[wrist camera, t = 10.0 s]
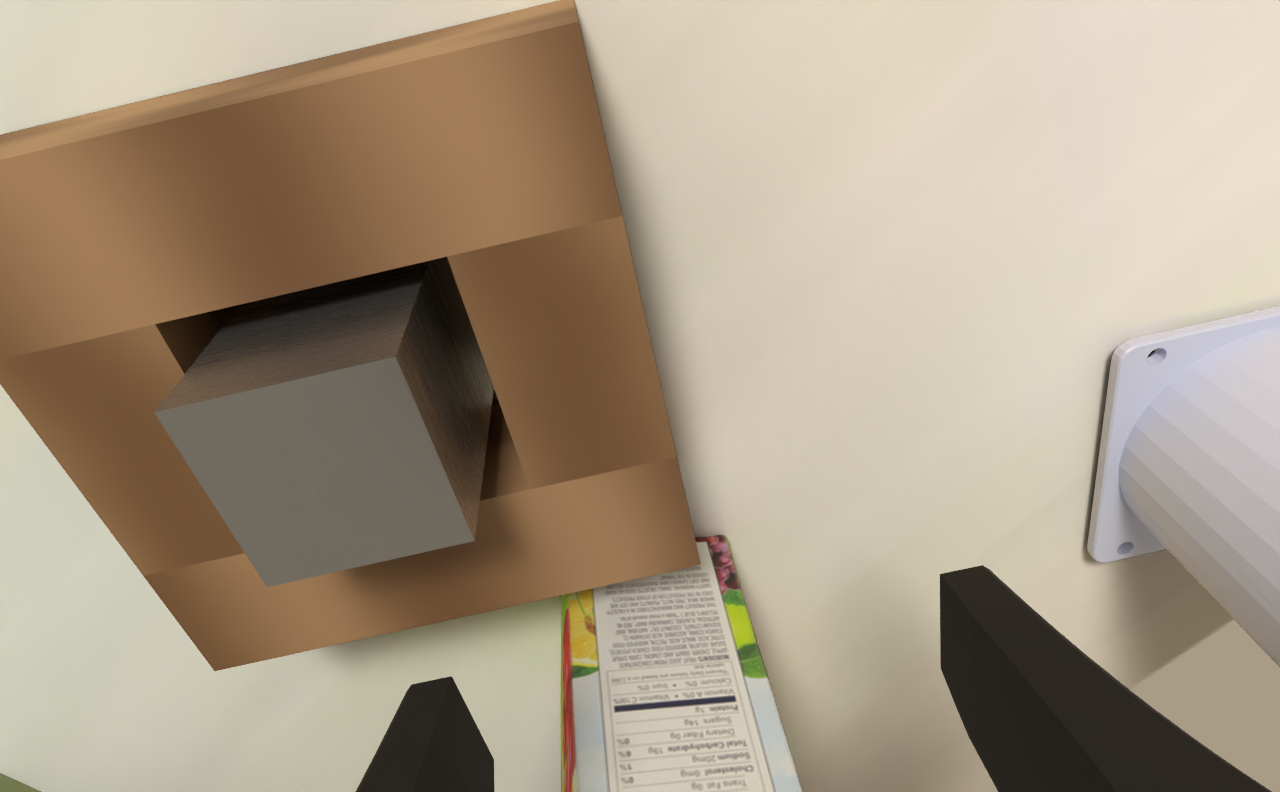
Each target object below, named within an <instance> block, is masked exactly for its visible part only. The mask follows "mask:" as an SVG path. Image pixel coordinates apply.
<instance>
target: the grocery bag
mask: <svg viewBox="0 0 1280 792" xmlns="http://www.w3.org/2000/svg"><path fill="white" fill-rule="evenodd" d="M0 792H41V791H39V790H36V789H34V788H32V787H30V786H28V785H25V784H23V783H21V782H19V781H17V780H14V779H12V778H10V777H8V776H5V775H3V774H1V773H0Z"/></svg>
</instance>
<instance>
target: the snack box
mask: <svg viewBox="0 0 1280 792" xmlns="http://www.w3.org/2000/svg"><path fill="white" fill-rule="evenodd" d="M695 540H696V545H697V549H698V554H699V558H700V563H701V565H697V566H693V567H688V568H684V569H679V570H674V571H670V572H665V573H661V574H656V575H652V576H647V577H642V578H638V579H633V580H629V581H624V582H620V583H615V584H610V585H606V586H601V587H597V588H592V589H588V590H583V591H578V592H574V593H569V594H565V595H562V621H561V792H803V791H802V788H801V784H800V781H799V778H798V775H797V772H796V768H795V765H794V762H793V759H792V755H791V752H790V749H789V745H788V742H787V739H786V735H785V732H784V729H783V726H782V722H781V719H780V716H779V712H778V709H777V705H776V702H775V699H774V695H773V692H772V688H771V685H770V682H769V679H768V675H767V672H766V669H765V666H764V662H763V659H762V656H761V653H760V650H759V647H758V644H757V641H756V637H755V633H754V630H753V627H752V623H751V620H750V617H749V613H748V610H747V607H746V603H745V600H744V597H743V593H742V590H741V586H740V582H739V579H738V575H737V571H736V568H735V565H734V563H733V559H732V554H731V550H730V545H729V541H728V539H727V537H725V536H724V535H717V536H714V537H699V538H695Z"/></svg>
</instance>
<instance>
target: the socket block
mask: <svg viewBox="0 0 1280 792" xmlns="http://www.w3.org/2000/svg"><path fill="white" fill-rule="evenodd" d="M443 257H447V258H448V261H449V264H450V267H451V269H452V272H453V275H454V278H455V281H456V283H457V286H458V289H459V292H460V295H461V297H462V300H463V303H464V306H465V308H466V311H467V314H468V317H469V320H470V322H471V325H472V328H473V331H474V334H475V336H476V339H477V342H478V345H479V348H480V350H481V353H482V356H483V359H484V362H485V364H486V367H487V370H488V373H489V376H490V378H491V381H492V384H493V387H494V390H495V392H496V395H497V398H498V401H499V402H497V403H492V407H491V415H490V423H489V431H488V439H487V447H486V455H485V463H484V471H483V479H482V487H481V495H480V503H479V511H478V519H477V527H476V535H475V541H472V542H468V543H463V544H459V545H454V546H450V547H445V548H441V549H436V550H432V551H427V552H423V553H419V554H414V555H410V556H405V557H401V558H396V559H392V560H387V561H383V562H378V563H374V564H369V565H365V566H360V567H356V568H351V569H347V570H342V571H338V572H333V573H329V574H324V575H320V576H315V577H311V578H306V579H302V580H297V581H293V582H288V583H284V584H280V585H275V586H271V587H266V585H265V584H264V582H263V581H262V579H261V578H260V576H259V574H258V573H257V571H256V570H255V568H254V567H253V565H252V564H251V562H250V560H249V559H248V557H247V556H246V554H245V553H244V551H243V550H242V548H241V546H240V545H239V543H238V542H237V540H236V539H235V537H234V536H233V534H232V532H231V531H230V529H229V528H228V526H227V525H226V523H225V522H224V520H223V518H222V517H221V515H220V514H219V512H218V511H217V509H216V508H215V506H214V504H213V503H212V501H211V500H210V498H209V497H208V495H207V494H206V492H205V490H204V489H203V487H202V486H201V484H200V483H199V481H198V480H197V478H196V476H195V475H194V473H193V472H192V470H191V469H190V467H189V466H188V464H187V462H186V461H185V459H184V458H183V456H182V455H181V453H180V452H179V450H178V448H177V447H176V445H175V444H174V442H173V441H172V439H171V438H170V436H169V435H168V433H167V431H166V430H165V428H164V427H163V425H162V424H161V422H160V421H159V419H158V417H157V416H156V414H155V413H154V412H155V411H156V410H157V408H158V407H159V406H160V405H161V403H162V402H163V401H164V400H165V398H166V397H167V396H168V394H169V393H170V392H171V391H172V389H173V388H174V387H175V386H176V384H177V383H178V382H179V381H180V379H181V378H182V377H183V376H184V374H185V373H186V372H187V371H188V369H189V368H190V367H191V365H192V364H193V363H194V362H195V360H196V359H197V358H198V357H199V355H200V354H201V353H202V352H203V350H204V349H205V348H206V347H207V345H208V344H209V343H210V341H211V340H212V339H213V338H214V336H215V335H216V334H217V333H218V331H219V330H220V329H221V328H222V326H223V325H224V324H225V323H226V321H227V320H228V319H229V318H230V316H231V315H232V314H233V312H234V311H235V310H236V309H237V307H238V306H239V305H240V304H245V303H249V302H253V301H258V300H262V299H266V298H271V297H275V296H279V295H283V294H288V293H292V292H296V291H301V290H305V289H309V288H314V287H318V286H322V285H327V284H331V283H335V282H340V281H344V280H348V279H352V278H357V277H361V276H365V275H370V274H374V273H378V272H383V271H387V270H391V269H396V268H400V267H404V266H409V265H413V264H417V263H421V262H426V261H430V260H434V259H439V258H443ZM0 384H1V386H2V387H3V388H4V390H5V391H6V392H7V394H8V395H9V396H10V398H11V399H12V400H13V402H14V403H15V404H16V406H17V407H18V408H19V410H20V411H21V412H22V414H23V415H24V416H25V418H26V419H27V420H28V422H29V423H30V424H31V426H32V427H33V428H34V430H35V431H36V432H37V434H38V435H39V436H40V438H41V439H42V440H43V442H44V443H45V445H46V446H47V447H48V449H49V450H50V451H51V453H52V454H53V455H54V457H55V458H56V459H57V461H58V462H59V463H60V465H61V466H62V467H63V469H64V470H65V471H66V473H67V474H68V475H69V477H70V478H71V479H72V481H73V482H74V483H75V485H76V486H77V487H78V489H79V490H80V491H81V493H82V494H83V495H84V497H85V498H86V499H87V501H88V502H89V503H90V505H91V506H92V507H93V509H94V510H95V511H96V513H97V514H98V515H99V517H100V518H101V519H102V521H103V522H104V524H105V525H106V526H107V528H108V529H109V530H110V532H111V533H112V534H113V536H114V537H115V538H116V540H117V541H118V542H119V544H120V545H121V546H122V548H123V549H124V550H125V552H126V553H127V554H128V556H129V557H130V558H131V560H132V561H133V562H134V564H135V565H136V566H137V568H138V569H139V570H140V572H141V573H142V574H143V576H144V577H145V578H146V580H147V581H148V582H149V584H150V585H151V586H152V588H153V589H154V590H155V592H156V593H157V594H158V596H159V597H160V598H161V600H162V601H163V603H164V604H165V605H166V607H167V608H168V609H169V611H170V612H171V613H172V615H173V616H174V617H175V619H176V620H177V621H178V623H179V624H180V625H181V627H182V628H183V629H184V631H185V632H186V633H187V635H188V636H189V637H190V639H191V640H192V641H193V643H194V644H195V645H196V647H197V648H198V649H199V651H200V652H201V653H202V655H203V656H204V657H205V659H206V660H207V661H208V663H209V664H210V665H211V667H212V668H213V669H214V671H217V670H222V669H226V668H231V667H236V666H240V665H245V664H249V663H254V662H258V661H263V660H268V659H272V658H277V657H281V656H286V655H290V654H295V653H300V652H304V651H309V650H313V649H318V648H322V647H327V646H332V645H336V644H341V643H345V642H350V641H354V640H359V639H364V638H368V637H373V636H377V635H382V634H386V633H391V632H396V631H400V630H405V629H409V628H414V627H418V626H423V625H428V624H432V623H437V622H441V621H446V620H450V619H455V618H460V617H464V616H469V615H473V614H478V613H482V612H487V611H492V610H496V609H501V608H505V607H510V606H514V605H519V604H524V603H528V602H533V601H537V600H542V599H546V598H551V597H556V596H560V595H565V594H569V593H574V592H578V591H583V590H588V589H592V588H597V587H601V586H606V585H610V584H615V583H620V582H624V581H629V580H633V579H638V578H642V577H647V576H652V575H656V574H661V573H665V572H670V571H674V570H679V569H684V568H688V567H693V566H697V565H701V563H700V558H699V554H698V549H697V545H696V540H695V536H694V531H693V527H692V523H691V518H690V514H689V509H688V505H687V500H686V496H685V491H684V487H683V483H682V478H681V474H680V469H679V465H678V460H677V456H676V452H675V447H674V443H673V438H672V434H671V429H670V425H669V420H668V416H667V412H666V407H665V403H664V398H663V394H662V389H661V385H660V380H659V376H658V372H657V367H656V363H655V358H654V354H653V349H652V345H651V340H650V336H649V332H648V327H647V323H646V318H645V314H644V309H643V305H642V300H641V296H640V292H639V287H638V283H637V278H636V274H635V269H634V265H633V261H632V256H631V252H630V247H629V243H628V238H627V234H626V229H625V225H624V221H623V216H622V212H621V207H620V203H619V198H618V194H617V189H616V185H615V181H614V176H613V172H612V167H611V163H610V158H609V154H608V149H607V145H606V141H605V136H604V132H603V127H602V123H601V118H600V114H599V109H598V105H597V101H596V96H595V92H594V87H593V83H592V78H591V74H590V70H589V65H588V61H587V56H586V52H585V47H584V43H583V38H582V34H581V30H580V25H579V21H578V16H577V12H576V7H575V3H574V0H560V1H556V2H552V3H547V4H543V5H539V6H535V7H531V8H527V9H523V10H518V11H514V12H510V13H506V14H502V15H498V16H493V17H489V18H485V19H481V20H477V21H473V22H468V23H464V24H460V25H456V26H452V27H448V28H443V29H439V30H435V31H431V32H427V33H423V34H418V35H414V36H410V37H406V38H402V39H398V40H393V41H389V42H385V43H381V44H377V45H373V46H368V47H364V48H360V49H356V50H352V51H348V52H343V53H339V54H335V55H331V56H327V57H323V58H318V59H314V60H310V61H306V62H302V63H298V64H293V65H289V66H285V67H281V68H277V69H273V70H268V71H264V72H260V73H256V74H252V75H248V76H243V77H239V78H235V79H231V80H227V81H223V82H218V83H214V84H210V85H206V86H202V87H198V88H193V89H189V90H185V91H181V92H177V93H173V94H168V95H164V96H160V97H156V98H152V99H148V100H144V101H139V102H135V103H131V104H127V105H123V106H119V107H114V108H110V109H106V110H102V111H98V112H94V113H89V114H85V115H81V116H77V117H73V118H69V119H64V120H60V121H56V122H52V123H48V124H44V125H39V126H35V127H31V128H27V129H23V130H19V131H14V132H10V133H6V134H2V135H0Z"/></svg>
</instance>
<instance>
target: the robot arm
mask: <svg viewBox="0 0 1280 792" xmlns="http://www.w3.org/2000/svg"><path fill="white" fill-rule="evenodd" d="M1155 349H1156V351H1155V353H1154V354H1153V355H1152V356H1150V357H1148V355H1149V354H1150V353H1151V352H1152V351H1153V350H1155ZM1147 357H1148V358H1147ZM1166 549H1167V550H1168V551H1169V552H1170V553H1171V554H1172V555H1173V556H1174V557H1175V558H1176V559H1177V560H1178V561H1179V562H1180V563H1181V564H1182V566H1183V567H1184V568H1185V569H1186V570H1187V571H1188V572H1189V573H1190V574H1191V575H1192V576H1193V577H1194V578H1195V579H1196V580H1197V581H1198V582H1199V583H1200V584H1201V585H1202V586H1203V587H1204V589H1205V590H1206V591H1207V592H1208V593H1209V594H1210V595H1211V596H1212V597H1213V598H1214V599H1215V600H1216V601H1217V602H1218V603H1219V604H1220V605H1221V606H1222V607H1223V608H1224V609H1225V610H1226V612H1227V613H1228V614H1229V615H1230V616H1231V617H1232V618H1233V619H1234V620H1235V621H1236V622H1237V623H1238V624H1239V625H1240V626H1241V627H1242V628H1243V629H1244V630H1245V631H1246V632H1247V633H1248V634H1249V635H1250V636H1251V638H1252V639H1253V640H1254V641H1255V642H1256V643H1257V644H1258V645H1259V646H1260V647H1261V648H1262V649H1263V650H1264V651H1265V652H1266V653H1267V654H1268V655H1269V656H1270V657H1271V659H1272V660H1274V662H1275V663H1276V664H1277V665H1278V666H1279V667H1280V306H1277V307H1272V308H1268V309H1263V310H1259V311H1254V312H1250V313H1245V314H1241V315H1236V316H1232V317H1227V318H1223V319H1218V320H1214V321H1209V322H1205V323H1201V324H1196V325H1192V326H1187V327H1183V328H1178V329H1174V330H1169V331H1165V332H1160V333H1156V334H1151V335H1147V336H1142V337H1138V338H1133V339H1130V340H1128V341H1125V342H1124V343H1122V344H1121V345H1120V346H1118V347H1117V349H1116V350H1115V351H1114V353H1113V356H1112V359H1111V366H1110V374H1109V381H1108V389H1107V397H1106V405H1105V412H1104V420H1103V428H1102V436H1101V443H1100V451H1099V459H1098V467H1097V475H1096V482H1095V490H1094V498H1093V506H1092V513H1091V521H1090V529H1089V537H1088V544H1087V550H1088V553H1089V554H1090V555H1091V556H1092V557H1093V559H1094V560H1095V561H1097V562H1100V563H1103V562H1111V561H1115V560H1120V559H1125V558H1129V557H1134V556H1139V555H1143V554H1148V553H1152V552H1157V551H1162V550H1166ZM940 633H941V670H942V672H943V675H944V677H945V680H946V682H947V685H948V687H949V690H950V692H951V695H952V697H953V700H954V702H955V705H956V707H957V710H958V712H959V714H960V717H961V719H962V721H963V724H964V726H965V729H966V731H967V733H968V736H969V738H970V740H971V742H972V743H973V745H974V747H975V749H976V751H977V753H978V755H979V757H980V758H981V760H982V762H983V764H984V766H985V768H986V770H987V771H988V773H989V775H990V777H991V779H992V781H993V783H994V784H995V786H996V788H997V790H998V792H1271V791H1270V790H1268V789H1267V788H1265V787H1264V786H1262V785H1261V784H1259V783H1258V782H1256V781H1255V780H1253V779H1251V778H1250V777H1249V776H1247V775H1246V774H1244V773H1243V772H1241V771H1240V770H1238V769H1237V768H1235V767H1234V766H1232V765H1231V764H1229V763H1228V762H1227V761H1225V760H1224V759H1222V758H1221V757H1219V756H1218V755H1216V754H1215V753H1213V752H1212V751H1211V750H1209V749H1208V748H1207V747H1205V746H1204V745H1202V744H1201V743H1200V742H1198V741H1197V740H1195V739H1194V738H1192V737H1191V736H1190V735H1188V734H1187V733H1185V732H1184V731H1183V730H1181V729H1180V728H1179V727H1178V726H1176V725H1175V724H1174V723H1172V722H1171V721H1170V720H1168V719H1167V718H1165V717H1164V716H1163V715H1161V714H1160V713H1159V712H1157V711H1156V710H1155V709H1153V708H1152V707H1151V706H1149V705H1148V704H1147V703H1146V702H1144V701H1143V700H1142V699H1140V698H1139V697H1138V696H1136V695H1135V694H1134V693H1133V692H1131V691H1130V690H1129V689H1128V688H1126V687H1125V686H1124V685H1123V684H1121V683H1120V682H1119V681H1118V680H1116V679H1115V678H1114V677H1113V676H1111V675H1110V674H1109V673H1108V672H1107V671H1105V670H1104V669H1103V668H1102V667H1100V666H1099V665H1098V664H1097V663H1095V662H1094V661H1093V660H1092V659H1090V658H1089V657H1088V656H1087V655H1085V654H1084V653H1083V652H1082V651H1081V650H1080V649H1078V648H1077V647H1076V646H1075V645H1074V644H1072V643H1071V642H1070V641H1069V640H1068V639H1066V638H1065V637H1064V636H1063V635H1062V634H1061V633H1060V632H1058V631H1057V630H1056V629H1055V628H1054V627H1053V626H1051V625H1050V624H1049V623H1048V622H1047V621H1046V620H1045V619H1043V618H1042V617H1041V616H1040V615H1039V614H1038V613H1037V612H1035V611H1034V610H1033V609H1032V608H1031V607H1030V606H1029V605H1028V604H1026V603H1025V602H1024V601H1023V600H1022V599H1021V598H1020V597H1019V596H1018V595H1017V594H1015V593H1014V592H1013V591H1012V590H1011V589H1010V588H1009V587H1008V586H1007V585H1006V584H1005V583H1003V582H1002V581H1001V580H1000V579H999V578H998V577H997V576H996V575H995V574H994V573H993V572H992V571H990V570H989V569H988V568H986V567H984V566H983V565H982V566H977V567H973V568H968V569H963V570H958V571H953V572H949V573H944V574H940ZM356 792H494V759H493V757H492V755H491V753H490V751H489V749H488V747H487V745H486V743H485V741H484V739H483V737H482V735H481V733H480V731H479V729H478V727H477V725H476V724H475V722H474V720H473V718H472V716H471V714H470V712H469V710H468V708H467V706H466V704H465V702H464V700H463V698H462V696H461V694H460V692H459V690H458V688H457V686H456V684H455V682H454V680H453V678H452V676H451V677H446V678H441V679H437V680H432V681H427V682H422V683H418V684H413V685H411V686H410V688H409V689H408V691H407V692H406V694H405V696H404V698H403V700H402V702H401V704H400V706H399V708H398V710H397V712H396V714H395V716H394V718H393V720H392V722H391V724H390V726H389V728H388V730H387V732H386V734H385V736H384V738H383V740H382V742H381V744H380V746H379V748H378V750H377V752H376V754H375V756H374V758H373V760H372V762H371V763H370V765H369V767H368V769H367V771H366V773H365V775H364V777H363V779H362V781H361V783H360V785H359V786H358V788H357V790H356Z"/></svg>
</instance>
